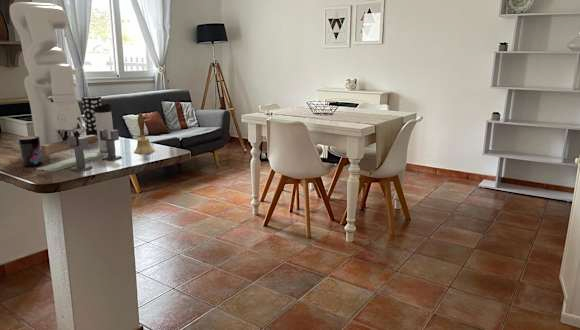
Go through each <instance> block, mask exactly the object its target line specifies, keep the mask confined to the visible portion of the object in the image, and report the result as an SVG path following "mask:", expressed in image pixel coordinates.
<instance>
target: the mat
mask: <svg viewBox="0 0 580 330" xmlns="http://www.w3.org/2000/svg"><path fill="white" fill-rule="evenodd" d="M106 156H107V153H100V152H99V153H98V152H87V153H84V158H85V163H86V162H89V161H92V160H96V159H98V158H103V157H106ZM75 166H77V165H76V158H75V156H74V157H71V158H68V159H67V158H66V159H63V160H60V161H57V162H54V163H50V164H46V165H43V166H39V167H36V171H41V170H44V171H43V172H52V171H55V172H58V171H61V170H64V168H65V169H68V168H70V167H71V168H72V167H75ZM67 167H68V168H67ZM60 169H61V170H60ZM57 170H58V171H57Z"/></svg>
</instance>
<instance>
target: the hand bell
mask: <svg viewBox="0 0 580 330" xmlns="http://www.w3.org/2000/svg"><path fill="white" fill-rule="evenodd" d="M137 124H138V127H139V134H140V135H139V136H140V137H139V138H138V139H137V144H136V147H135V150H134V151H133V153H134V154H138V155H142V154H144V155H145V154H151V153H154V152H155V149H154V148H153V147H152V145H151V143H150V140H149V138H148V137H146V135H145V119H144V116H143V113H138V115H137Z"/></svg>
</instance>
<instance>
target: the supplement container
mask: <svg viewBox="0 0 580 330" xmlns="http://www.w3.org/2000/svg"><path fill="white" fill-rule="evenodd" d="M17 141H18V146H19V152H20V159H21V165H22V167H24V168H35V167H36V168H38V167H41V166H42V165H43V164H44V160H43V154H42V150H41V146H40V139H39V136H35V135H28V136H21V137H17ZM40 165H41V166H40Z"/></svg>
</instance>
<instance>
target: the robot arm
mask: <svg viewBox="0 0 580 330" xmlns="http://www.w3.org/2000/svg"><path fill="white" fill-rule="evenodd" d="M9 16H10V19H11V22H12V24H13V26H14V28H15V30H16V32H17V34H18V36H19V39H20V44H21V49H22V50H21V51H22V57H23V61H24V65H25V67H26V68H27V72H28V75H27V76H25V78H24V83H23V84H24V89H25V90H26V94H27V97H28V102H29V106H30V112H31V119H32V124H33V131H34V136H39V139H40V146H43V145H47V144H52V143H56V142H61V141H65V140H67V138H70V137H76V141H77V145H79V140H78V138H79V137H81V136H80V135H81V134H83V133H84V132H86V129H85V127H84V126H83V125H84V124H83V123H84V122H83V117H82V112H81V108H80V105H79V102H78V101H77V93H76V85H75V79H74V72H73V67H72V65H70V64H69V63H68V58H67V55H66V53H65V52H64V50H63V49H62V48H60V47H57V46H58V45H59V44H58V43H59V39H58V36H57V33H56V31H55V30H66V29H67V27H68V25H69V19H68V18H69V17H68V15H67V12H66V11H65V9H63V8H62V7H61V6H59V5H57V4H55V3H45V2H31V1H29V2H28V1H19V2H18V1H16V2H13V3H12V4H10V6H9ZM49 97H51V99H52V101H53V102H52V101H51V100H50V99H49ZM69 132H70V135H69Z"/></svg>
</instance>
